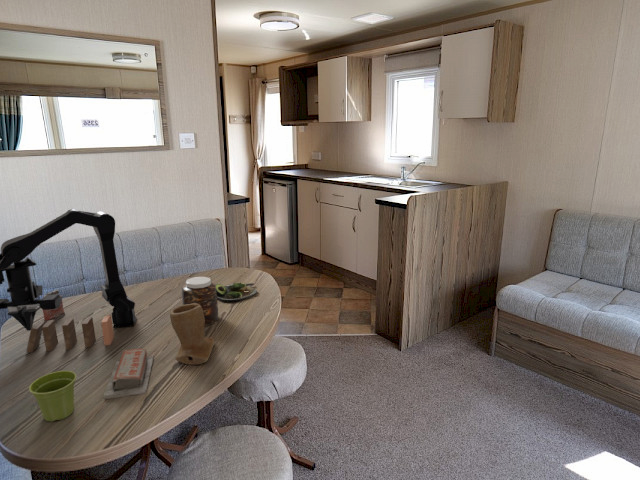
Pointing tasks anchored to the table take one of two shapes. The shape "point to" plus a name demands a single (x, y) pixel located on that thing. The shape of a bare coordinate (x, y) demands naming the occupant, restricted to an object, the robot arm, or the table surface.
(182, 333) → the tan boot
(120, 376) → the packaged product
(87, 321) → the domino
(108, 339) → the domino
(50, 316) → the lighter
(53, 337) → the domino
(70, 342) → the domino
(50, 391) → the plant pot
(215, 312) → the jar
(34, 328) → the domino
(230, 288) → the salad plate
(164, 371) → the table surface
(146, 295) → the table surface
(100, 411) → the table surface
